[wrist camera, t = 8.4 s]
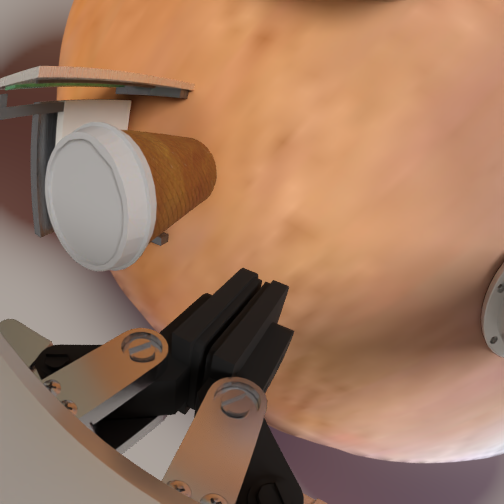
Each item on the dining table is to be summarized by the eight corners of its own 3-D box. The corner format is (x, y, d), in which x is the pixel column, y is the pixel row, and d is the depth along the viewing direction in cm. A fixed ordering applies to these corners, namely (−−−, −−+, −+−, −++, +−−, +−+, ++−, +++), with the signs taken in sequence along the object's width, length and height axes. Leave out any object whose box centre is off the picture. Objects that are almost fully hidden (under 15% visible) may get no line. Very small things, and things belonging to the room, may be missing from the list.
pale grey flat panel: (133, 91, 23) (1, 94, 11) (121, 213, 29) (10, 265, 17) (126, 91, 24) (-3, 95, 11) (114, 211, 29) (5, 260, 17)
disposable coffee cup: (248, 209, 25) (161, 268, 14) (164, 232, 29) (71, 284, 18) (214, 102, 22) (105, 91, 12) (134, 143, 26) (30, 162, 16)
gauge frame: (194, 84, 22) (39, 66, 9) (171, 243, 29) (52, 321, 16) (117, 81, 24) (-14, 83, 11) (105, 216, 31) (-4, 267, 18)
